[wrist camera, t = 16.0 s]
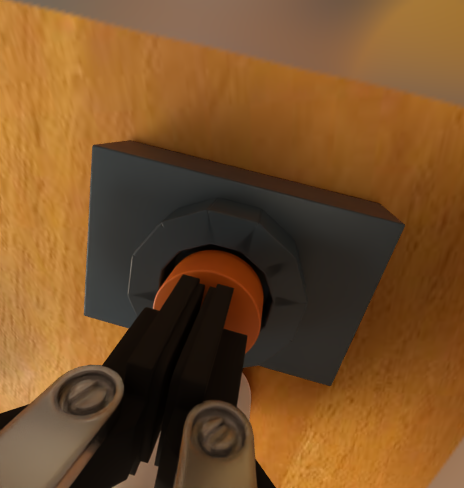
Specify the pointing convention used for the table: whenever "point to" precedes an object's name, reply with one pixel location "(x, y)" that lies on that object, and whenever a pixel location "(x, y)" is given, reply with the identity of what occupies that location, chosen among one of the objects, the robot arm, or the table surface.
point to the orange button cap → (229, 274)
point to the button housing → (236, 248)
